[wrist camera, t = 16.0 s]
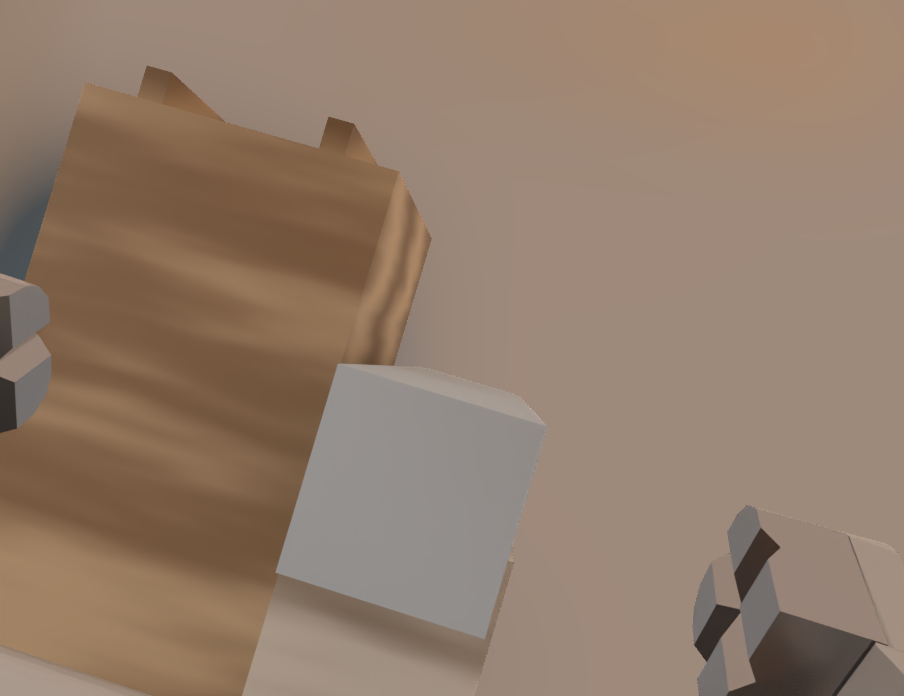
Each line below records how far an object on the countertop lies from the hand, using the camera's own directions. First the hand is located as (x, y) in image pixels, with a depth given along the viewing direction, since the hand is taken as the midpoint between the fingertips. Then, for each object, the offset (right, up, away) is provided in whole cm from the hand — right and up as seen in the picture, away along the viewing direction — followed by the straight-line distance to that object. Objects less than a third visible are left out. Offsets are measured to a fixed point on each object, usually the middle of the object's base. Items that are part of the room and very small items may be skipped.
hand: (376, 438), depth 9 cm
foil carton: (0, -4, +17) cm, 17 cm away
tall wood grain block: (-10, -18, +20) cm, 29 cm away
